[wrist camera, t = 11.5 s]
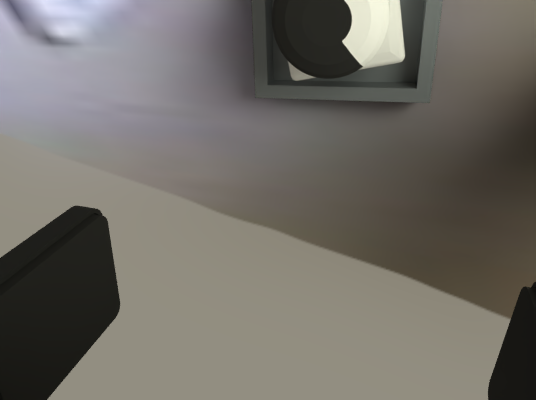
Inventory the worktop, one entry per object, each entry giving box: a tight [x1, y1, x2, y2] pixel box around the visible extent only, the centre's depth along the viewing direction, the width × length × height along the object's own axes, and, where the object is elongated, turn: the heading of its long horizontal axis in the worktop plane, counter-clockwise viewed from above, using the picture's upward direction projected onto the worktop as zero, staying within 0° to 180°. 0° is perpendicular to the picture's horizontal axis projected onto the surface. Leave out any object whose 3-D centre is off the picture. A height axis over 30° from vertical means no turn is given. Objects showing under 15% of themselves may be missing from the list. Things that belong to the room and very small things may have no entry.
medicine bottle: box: [272, 0, 405, 81], centre depth 28 cm, size 7×7×12 cm
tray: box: [251, 0, 443, 103], centre depth 33 cm, size 13×13×3 cm
